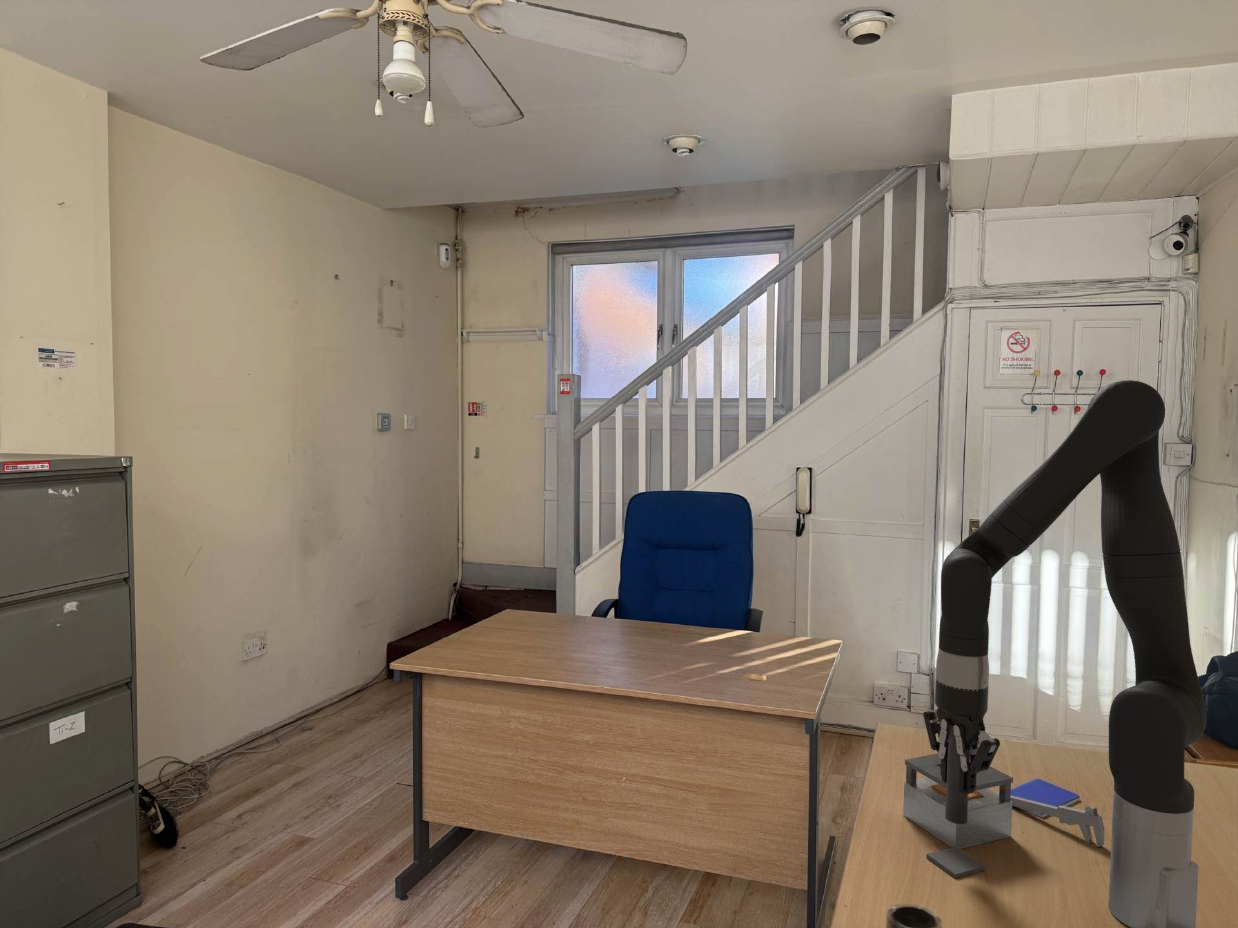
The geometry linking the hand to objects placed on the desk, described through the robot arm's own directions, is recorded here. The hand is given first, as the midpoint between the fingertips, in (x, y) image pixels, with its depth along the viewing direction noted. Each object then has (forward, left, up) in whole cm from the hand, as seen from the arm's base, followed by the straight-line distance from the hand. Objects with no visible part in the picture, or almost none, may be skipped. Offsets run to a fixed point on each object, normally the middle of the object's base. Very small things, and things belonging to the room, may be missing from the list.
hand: (957, 786), depth 123 cm
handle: (0, 0, -5) cm, 5 cm away
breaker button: (+9, -9, -11) cm, 16 cm away
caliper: (+5, -25, -13) cm, 28 cm away
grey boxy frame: (+9, -9, -12) cm, 17 cm away
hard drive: (+11, -31, -13) cm, 35 cm away
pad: (0, 0, -12) cm, 12 cm away
